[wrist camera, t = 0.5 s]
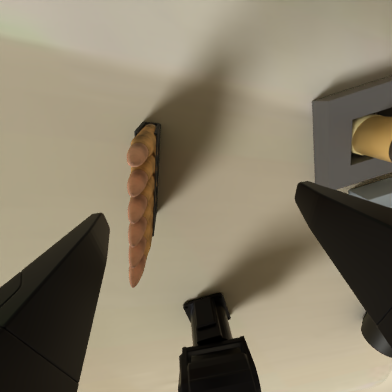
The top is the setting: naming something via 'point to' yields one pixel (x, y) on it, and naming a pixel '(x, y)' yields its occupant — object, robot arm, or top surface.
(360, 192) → the parts tray
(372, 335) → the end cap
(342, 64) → the top surface
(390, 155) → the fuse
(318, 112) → the block
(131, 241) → the ammunition clip
